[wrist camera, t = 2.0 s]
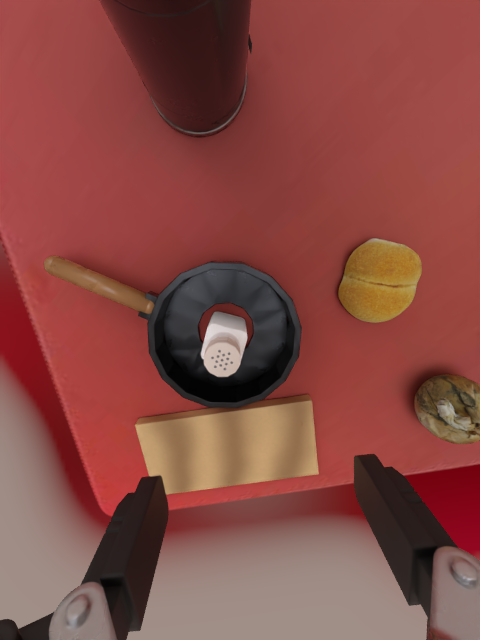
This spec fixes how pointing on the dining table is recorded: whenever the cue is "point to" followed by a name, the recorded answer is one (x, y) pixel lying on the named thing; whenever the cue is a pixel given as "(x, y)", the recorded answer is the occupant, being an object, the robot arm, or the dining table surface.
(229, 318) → the pepper shaker
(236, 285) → the pan
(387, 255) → the bread roll
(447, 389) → the onion
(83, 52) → the dining table surface
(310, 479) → the dining table surface
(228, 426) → the board
